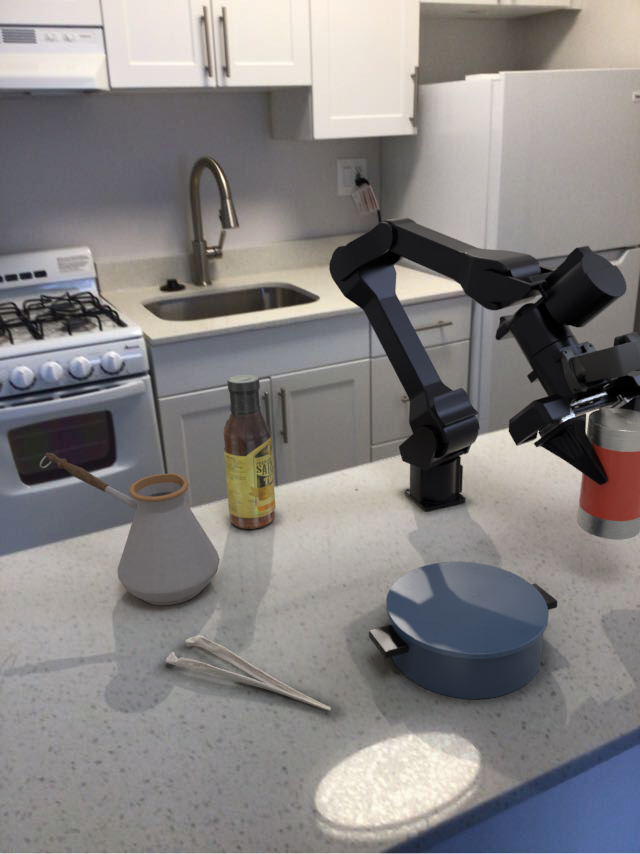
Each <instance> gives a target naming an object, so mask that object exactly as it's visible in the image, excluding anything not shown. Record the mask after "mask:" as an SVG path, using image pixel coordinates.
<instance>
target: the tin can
mask: <svg viewBox="0 0 640 854" xmlns="http://www.w3.org/2000/svg"><path fill="white" fill-rule="evenodd" d="M586 429H587V430H586V435H587V437H588V439H589V441H590V443H591V444H592V446H593V448H594V450H595V452H596V454H597V456H598V458H599V460H600V462H601V464H602V466H603V468H604V470H605V472H606V475H607V477H608V482H606V483H604V484H602V485H599V484H597V483H596V482H595V481H593V480H592V479H590V478H589V477H587V476H586V475H585V474H583V473H582V472H581V481H580V489H579V490H580V491H579V498H578V509H577V511H578V512H577V519H576V522H577V525H578V527H579V528H580V529H582V530H583V531H584V532H586V533H587V534H589V535H592V536H595V537H597V538H601V539H607V540H615V541H616V540H629V539H632V538H635V537H636V536H638V535H639V534H640V412H638V411H634V410H628V409H617V408H610V409H600V410H599V409H597V410H594V411H591V412H590V413H589V415H588V421H587V427H586Z"/></svg>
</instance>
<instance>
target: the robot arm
mask: <svg viewBox="0 0 640 854" xmlns="http://www.w3.org/2000/svg"><path fill="white" fill-rule="evenodd" d="M403 259H406V260H408V261H410V262H413V263H415V264H417V265H419V266H422V267H424V268H425V269H429V270H431V271H433V272H435V273H437V274H439V275H442V276H444V277H447V278H449V279H450V280H453V281H455V283H457V284H459V286H460V287H461V289H462V291H463V292H464V294H465V295H466V296H467V297H469V299H471V300H472V301H474V302H476V303H477V304H478V305H480V306H481V307H482V308H484V309H485V310H489V311H500V310H503V309H507V308H508V309H509V308H511V307H515V306H519V305H522V304H523V305H522V306H520V307H519V309H517V310H516V311H515V312H514V313H513V314H509V315H502V316H499V323H498V327H497V329H496V332H495V340H496V341H502V340H509V339H513V338H514V340H515V342H516V344H517V345H518V348H519V349H520V351H521V352H522V354H523V356H524V357H525V359H526V361H527V363H528V365H529V366H530V368H531V371H530V372H529V373H528V374H527V375H526V377H527V379H528V380H529V382H530V384H534V383H536V382H539V384H540V385H541V387H542V388H543V390H544V392H545V394H546V396H544V397H541V398H537V399H534V400H533V401H531V402H530V403H529V404H527V405H526V406H525V407H524V408H522V409H521V410H520V411H518V412H517V413H516V414H514V416H512V417H511V418H510V419H509V420H508V433H509V436H510V437H511V439H512V440H513V443H514V445H515V446H516V447H518V446H522V445H524V444H527V443H531V442H533V441H535V440H536V439H537V438H538V435H539V437H540V438H539V439H537V440H536V441H535V442H534V443H533V445H534V447H536V448H539V447H541V448H543V449H544V450H546V451H548V452H550V453H551V454H553V455H554V456H556V457H558V458H559V459H561V460H563V461H564V462H565V463H567V464H569V465H570V466H572V467H573V468H574V469H576V470H578V471H579V472H580V473H581V474H582V473H583V474H585V475H586V476H587V477H589V478H590V479H592V480H593V481H595V482H596V483H597V484H599V485H602V484H604V483H606V482H608V477H607V475H606V472H605V470H604V468H603V466H602V464H601V462H600V460H599V458H598V456H597V454H596V452H595V450H594V448H593V446H592V444H591V443H590V441H589V439H588V437H587V430H586V429H587V413H592V412H594V411H596V410H600V409H610V408H617V409H628V410H634V411H638V412H640V335H639V334H638V332H637V331H633V332H629V333H628V332H627V333H625V334H622V335H617V336H615V337H614V339H613V346H611V347H605V348H603V349H599V350H597V349H596V348H595V346H594V344H592V343H591V342H589V341H584V342H579V340H578V338H577V337H576V335H575V334H574V332H573V330H572V329H571V327H574V328H584V327H586V326H587V325H588V324H589V323H591V322H592V321H593V320H594V319H595V318H597V317H598V316H599V315H600V314H602V313H603V312H604V311H605V310H606V309H608V308H609V307H610V306H612V305H613V304H614V303H616V302H617V301H618V300H619V299H620V298H622V297H623V296H624V295H625V294H626V292H627V287H628V286H627V280H626V278H625V277H624V274H623V273H622V271H621V270H620V268H619V267H618V265H616V264H615V265H614V264H613V263H612V262H610V260H608V259H607V258H605V257H604V256H601V255H600V254H598V253H595V252H594V251H593V250H592V249H591V247H590V246H589V245H582V246H577V247H575V248H574V249H573V250H572V251H571V252H570V253H569V254H568V255H567V256H566V258H565V260H564V261H563V262H561V264H560V265H558V266H557V267H556V268H555V269H553V268H550V267H547V266H543V265H540V262H539V261H538V259H536V257H534V256H532V255H531V254H529V253H525V252H519V251H512V250H505V249H488V248H481V247H476V246H474V245H472V244H469V243H466V242H464V241H462V240H459V239H457V238H454V237H451V236H449V235H446V234H444V233H442V232H439V231H437V230H434V229H432V228H429V227H427V226H424V225H421V224H419V223H417V222H416V221H415V220H413V219H411V218H409V217H399V218H398V217H397V218H391V219H384V220H382V221H380V223H378V224H376V225H375V226H374V227H373V228H372V229H371V230H369V231H368V232H365V233H364V234H362V235H360V236H359V237H357V238H355V239H352V240H351V241H349V242H348V243H346V245H340V246H338V247H336V248H335V249H334V250H333V252H332V254H331V259H330V260H329V264H328V265H329V267H328V269H329V274H330V277H331V278H332V280H333V282H334V284H335V285H336V287H337V288H338V289H339V291H340V293H341V294H342V295H343V296H344V297H345V298H346V299H347V300H348V301H349V302H352V303H353V304H354V305H355V306H357V307H358V308H360V309H361V310H362V311H363V312H364V314H365V316H366V318H367V320H368V321H369V324H370V326H371V327H372V329H373V331H374V333H375V336H376V338H377V339H378V342H379V343H380V345H381V347H382V349H383V351H384V353H385V354H386V357H387V358H388V361H389V362H390V364H391V367H392V368H393V370H394V373H395V374H396V377H397V378H398V380H399V382H400V384H401V386H402V388H403V390H404V391H405V394H406V396H407V398H408V400H409V412H408V413H409V414H408V424H409V427H410V429H411V432H412V434H411V435H410V436H409V437H408V438H406V439H405V440H404V441H403V442H402V443H401V444H400V445H398V450H399V453H400V457H401V461H402V462H404V463H406V464H409V487H408V488H405V489H403V493H404V495H406V496H407V497H408V498H409V499H410V500H412V501H413V502H414V503H415V504H416V505H418V506H419V507H420V508H421V509H422V510H423V511H426V512H427V511H433V510H436V509H441V508H445V507H450V506H455V505H458V504H463V503H466V502H467V501H466V500H467V498H466V496H464V494H463V495H462V492H463V482H464V481H463V480H464V479H463V476H464V473H463V472H464V465H462V464H461V463H462V461H461V459H462V458H461V456H463V455H467V454H469V452H470V450H471V447H472V445H473V444H474V443H475V442H476V440H477V438H478V436H479V430H480V428H481V427H480V422H479V420H478V417H477V415H479V412H478V411H477V409H475V407H474V406H473V405H472V402H471V400H470V398H469V395H468V393H467V392H466V390H465V389H464V388H463V387H460V388H456V389H454V390H453V389H451V388H450V387H449V386H447V385H446V384H445V383H444V382H443V381H442V379H441V377H440V375H439V373H438V371H437V369H436V367H435V366H434V364H433V362H432V360H431V358H430V357H429V354H428V352H427V350H426V349H425V347H424V345H423V343H422V341H421V339H420V338H419V335H418V333H417V332H416V329H415V328H414V326H413V324H412V322H411V320H410V318H409V317H408V313H406V310H405V309H404V306H403V305H402V303H401V301H400V299H399V297H398V295H397V293H396V290H397V289H396V288H397V270H396V268H395V265H397V264H398V263H399V262H401V261H402V260H403ZM537 296H538V297H539V296H541V297H540V298H538V299H537V300H536V301H535V302H531V301H533V300H534V299H536V298H537ZM570 326H571V327H570Z"/></svg>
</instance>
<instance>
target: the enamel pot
mask: <svg viewBox="0 0 640 854" xmlns="http://www.w3.org/2000/svg"><path fill="white" fill-rule="evenodd" d="M385 606H386V607H385V609H386V615H387V617H388V621H389V623H388V624H387V625H384V626H380V627H377V628H373V629H369V630H368V638H369V639H370V641H371V642H372V643H373V645H374V646H375V647H376V648H377V650H378V651H379V653H381V655H382V657H384V659H385V660H387V659H390V658H392V661H393V662H394V664H395V666H396V667H397V668H398V670H399V671H400V672H401V673H402V674H403V675H404V676H406V678H408V679H409V680H410V681H412V682H414V683H415V684H416V685H418V686H420V687H422V688H424V689H426V690H429V691H431V692H434V693H436V694H440V695H443V696H445V697H450V698H451V697H452V698H456V699H457V698H458V699H467V700H483V699H492V698H498V697H502V696H505V695H509V694H511V693H514V692H516V691H519V690H520V689H521V688H523V687H525V686H526V685H528V684H529V683H530V682H531V681H532V680H533V679H534V678H535V676H536V675H537V674H538V672H539V670H540V667H541V666H542V665H541V664H542V656H543V655H542V654H543V644H544V633H545V632H546V630H547V626H548V623H549V610H553V609H556V608H558V600H557V599H556V598H555V597H553V596H552V595H551V594H549V592H547V591H546V590H544V589H543V588H542V587H541V586H540V585H538V584H537V583H535V582H534V583H530V582H529V581H528V580H526V579H525V578H523V577H521V576H520V575H517V574H515V573H514V572H511V571H509V570H506V569H504V568H501V567H497V566H495V565H489V564H486V563H479V562H473V561H442V562H434V563H430V564H426V565H422V566H419V567H417V568H415V569H412V570H410V571H408V572H406V573H404V574H403V575H402V576H400V577H398V579H397V580H396V581H394V582H393V584H392V585H391V586H390V588H389V590H388V592H387V594H386V598H385Z"/></svg>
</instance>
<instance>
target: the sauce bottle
mask: <svg viewBox="0 0 640 854" xmlns="http://www.w3.org/2000/svg"><path fill="white" fill-rule="evenodd" d="M226 381H227V382H226V383H227V390H228V392H229V403H230V406H229V411H230V414H229V417H228V419H227V420H226V421H225V425H224V427H223V443H224V447H223V453H224V467H225V479H226V480H225V481H226V493H227V503H228V504H227V505H228V512H229V515H230V516H229V517H230V522H231V523H232V524H233V525H234V526H235V527H237V528H240V529H248V530H255V529H256V530H257V529H259V528H263V527H266V526H267V525H269V524H271V523H273V521H274V520H275V517H276V516H275V515H276V514H275V510H276V492H275V491H276V490H275V477H274V475H275V474H274V458H273V456H274V455H273V443H272V442H273V441H272V439H273V438H272V434H271V431H270V429H269V426H268V424H267V422H266V420H265V418H264V415H263V413H262V410H261V407H262V406H261V405H260V404H261V403H260V392H259V390H260V388H261V385H260V378H259V376H257V375H255V374H247V373H246V374H237V375H233V376H230V377H228V379H227V380H226Z"/></svg>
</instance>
